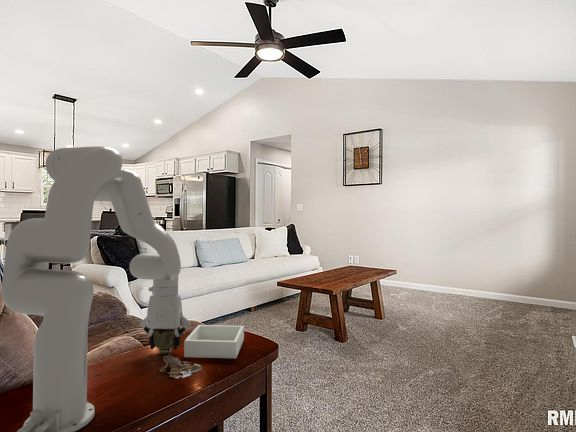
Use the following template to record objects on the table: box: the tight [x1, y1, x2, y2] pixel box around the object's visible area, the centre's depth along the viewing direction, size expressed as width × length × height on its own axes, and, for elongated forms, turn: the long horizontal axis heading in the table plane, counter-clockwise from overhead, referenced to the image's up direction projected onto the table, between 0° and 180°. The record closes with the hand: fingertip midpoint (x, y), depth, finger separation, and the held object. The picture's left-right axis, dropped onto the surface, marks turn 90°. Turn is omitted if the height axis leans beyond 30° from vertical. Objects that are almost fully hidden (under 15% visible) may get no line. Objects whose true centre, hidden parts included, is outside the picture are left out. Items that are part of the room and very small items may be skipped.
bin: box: [183, 324, 245, 359], centre depth 117 cm, size 16×16×5 cm
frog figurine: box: [159, 353, 202, 379], centre depth 101 cm, size 12×12×4 cm
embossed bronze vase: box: [153, 328, 178, 355], centre depth 113 cm, size 8×7×8 cm
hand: (164, 347), depth 113 cm, fingers closed on embossed bronze vase, 6 cm apart
